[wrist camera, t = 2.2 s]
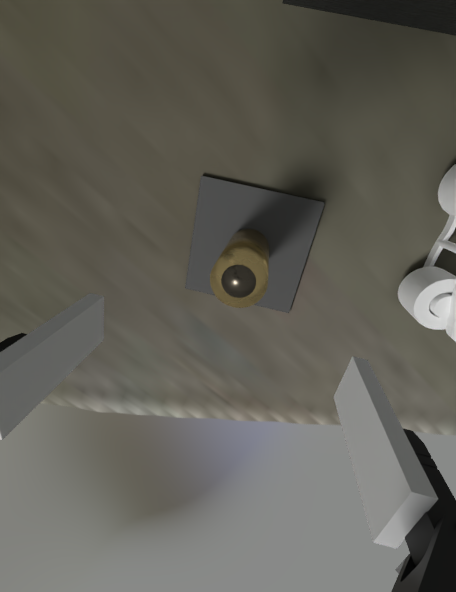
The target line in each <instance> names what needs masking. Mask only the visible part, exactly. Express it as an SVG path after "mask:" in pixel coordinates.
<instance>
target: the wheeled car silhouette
mask: <svg viewBox="0 0 456 592" xmlns="http://www.w3.org/2000/svg"><path fill="white" fill-rule="evenodd" d="M438 199H439V203H440V205H441V207H442V209H443V210H445V211H446V212H447V213H448V214H450V215H449V218H448V221H447V224H446V226H445V228H444V230H443V231H442V233H441V234H440V236H439V237H438V239H437V241H436V242H435V244H434V246H433V248H432V249H431V251H430V253H429V255H428V257H427V260H426V262H425V264H424V266H423V268H419V269H417V270H415V271H413V272H411V273H409V274H408V275H407V276H406V277H405V278H404V279H403V281H402V282H401V284H400V286H399V290H398V298H399V301H400V303H401V304H402V306H403V307H404V308H405V309H406V310H407V311H408V312H409V313H410V314H411V315H412V316H413V317H414V318H415V319H416V320H417V321H418V322H419V323H420V324H422V325H423V326H424V327H427V328H430V329H439V330H443V329H446V333H447V334H448V335H449V336H450V337H451V338H452V339H453V340H454V341H456V276H454V275H453V274H451V273H449V272H447V271H446V270H444V269H441V268H438V267H433V266H434V264H435V262H436V260H437V258H438V256H439V254H440V253H441V251H442V249H443V248H445V249H447V250H449V251H452V252H454V253H456V244H455V243H453V242H450V241H448V239H449V238H450V236H451V235H452V233H453V232H454V230H455V228H456V164H455V165H453V166H452V167H451V169H450V170H449V171H448V172H447V173H446V174H445V176H444V177H443V179H442V181H441V183H440V186H439V190H438Z"/></svg>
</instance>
